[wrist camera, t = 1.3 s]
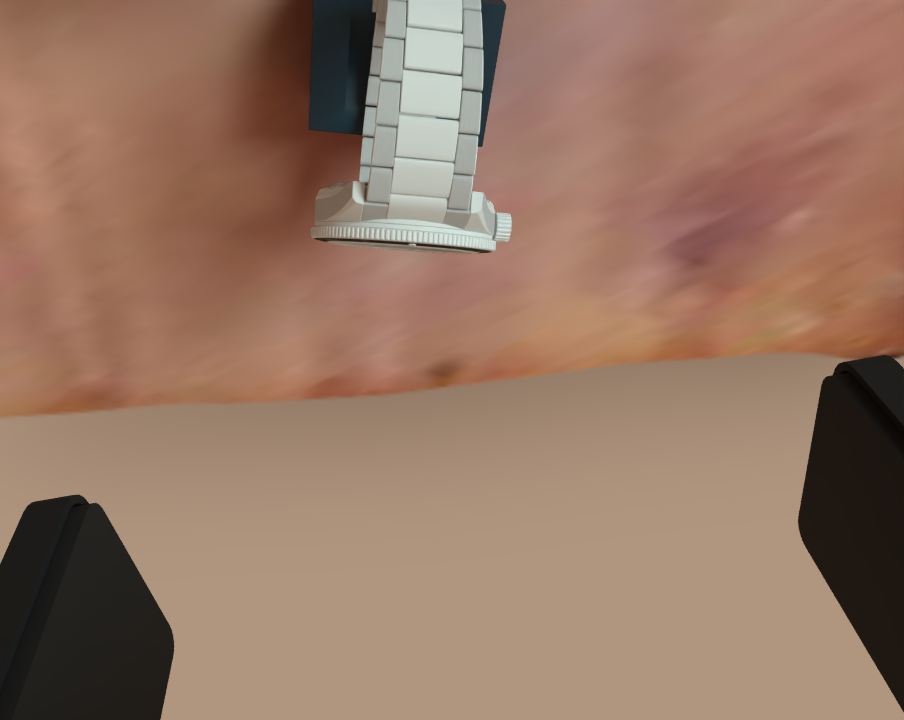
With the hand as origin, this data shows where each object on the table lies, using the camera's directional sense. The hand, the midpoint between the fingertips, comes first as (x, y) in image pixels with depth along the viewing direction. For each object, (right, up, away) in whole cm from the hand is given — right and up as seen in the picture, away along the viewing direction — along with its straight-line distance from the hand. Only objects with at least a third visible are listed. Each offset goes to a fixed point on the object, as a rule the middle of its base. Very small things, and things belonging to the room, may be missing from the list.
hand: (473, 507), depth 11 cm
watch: (-2, +13, +16) cm, 21 cm away
